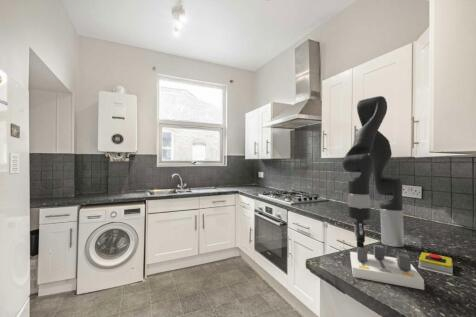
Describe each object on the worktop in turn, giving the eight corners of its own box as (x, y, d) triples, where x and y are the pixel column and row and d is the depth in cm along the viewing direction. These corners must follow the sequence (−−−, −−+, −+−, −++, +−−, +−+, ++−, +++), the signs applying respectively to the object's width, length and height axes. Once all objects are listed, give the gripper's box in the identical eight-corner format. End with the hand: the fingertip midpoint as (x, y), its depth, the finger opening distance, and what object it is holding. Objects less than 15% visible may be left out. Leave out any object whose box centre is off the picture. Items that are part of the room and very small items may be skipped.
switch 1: (357, 257, 81) (356, 246, 81) (366, 258, 80) (366, 247, 80) (357, 260, 78) (357, 249, 79) (367, 261, 77) (367, 250, 77)
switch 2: (373, 255, 84) (373, 244, 84) (383, 256, 82) (382, 245, 83) (374, 257, 81) (374, 246, 81) (384, 259, 80) (384, 248, 80)
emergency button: (417, 257, 81) (421, 247, 92) (417, 269, 81) (421, 258, 91) (452, 264, 75) (452, 253, 85) (452, 277, 74) (452, 264, 85)
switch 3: (397, 265, 74) (396, 253, 75) (408, 266, 73) (407, 254, 73) (399, 268, 72) (399, 256, 72) (410, 270, 70) (410, 257, 71)
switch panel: (350, 259, 89) (350, 251, 89) (407, 267, 81) (407, 259, 81) (353, 276, 73) (352, 267, 73) (424, 289, 65) (423, 279, 65)
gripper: (347, 203, 91) (348, 245, 90) (348, 207, 79) (350, 255, 78) (368, 204, 88) (369, 248, 87) (372, 208, 76) (374, 259, 75)
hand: (360, 251), depth 83 cm, fingers closed
